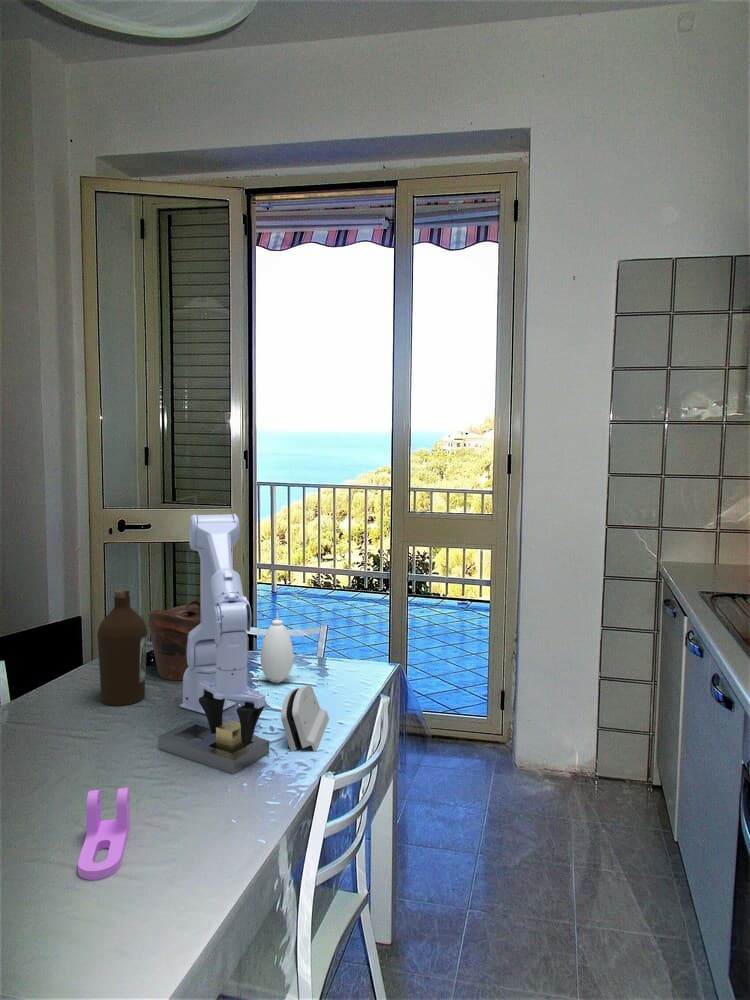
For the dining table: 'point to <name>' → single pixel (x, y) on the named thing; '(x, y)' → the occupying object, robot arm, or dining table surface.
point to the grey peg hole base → (210, 747)
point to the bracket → (104, 836)
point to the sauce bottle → (276, 652)
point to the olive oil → (122, 653)
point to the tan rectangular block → (229, 737)
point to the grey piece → (303, 719)
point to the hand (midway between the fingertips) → (231, 736)
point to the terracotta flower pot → (173, 637)
